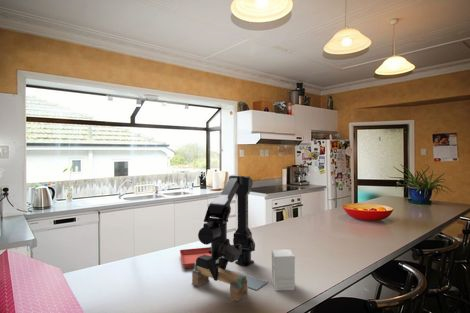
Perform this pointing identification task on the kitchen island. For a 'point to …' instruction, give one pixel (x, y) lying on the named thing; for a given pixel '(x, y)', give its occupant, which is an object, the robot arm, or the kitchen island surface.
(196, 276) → the post
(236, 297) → the post
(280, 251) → the supplement box
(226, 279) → the rail
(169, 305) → the kitchen island surface
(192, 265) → the plant saucer
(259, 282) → the mat
